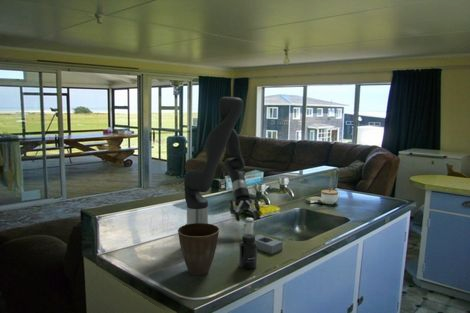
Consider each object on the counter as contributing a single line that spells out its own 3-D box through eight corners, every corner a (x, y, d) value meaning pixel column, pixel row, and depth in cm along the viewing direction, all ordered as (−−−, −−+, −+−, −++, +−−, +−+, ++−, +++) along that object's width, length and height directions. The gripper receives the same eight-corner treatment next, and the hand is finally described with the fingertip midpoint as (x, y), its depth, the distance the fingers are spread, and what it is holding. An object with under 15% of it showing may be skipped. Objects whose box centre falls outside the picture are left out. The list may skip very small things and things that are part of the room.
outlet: (272, 254, 150) (272, 246, 149) (248, 245, 159) (248, 238, 158) (282, 249, 155) (282, 241, 154) (259, 241, 164) (259, 234, 163)
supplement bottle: (251, 272, 133) (251, 240, 131) (235, 267, 136) (235, 237, 135) (260, 265, 139) (260, 235, 137) (244, 261, 142) (245, 231, 141)
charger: (249, 240, 165) (249, 220, 164) (243, 238, 168) (244, 218, 166) (254, 238, 168) (255, 218, 167) (248, 236, 170) (249, 217, 169)
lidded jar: (320, 200, 241) (320, 187, 240) (336, 201, 240) (337, 187, 239) (321, 204, 231) (322, 190, 230) (338, 205, 229) (339, 191, 228)
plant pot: (219, 280, 126) (219, 235, 124) (176, 281, 125) (176, 236, 123) (218, 262, 141) (218, 222, 139) (179, 263, 140) (179, 223, 138)
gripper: (228, 187, 174) (234, 217, 165) (256, 186, 178) (263, 215, 169) (225, 195, 180) (231, 225, 170) (252, 194, 184) (259, 222, 174)
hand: (247, 220), depth 170 cm, fingers open, 8 cm apart
